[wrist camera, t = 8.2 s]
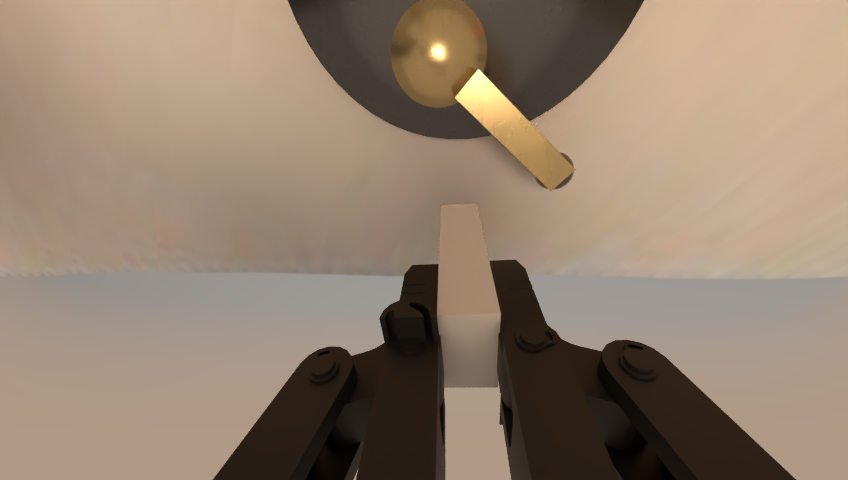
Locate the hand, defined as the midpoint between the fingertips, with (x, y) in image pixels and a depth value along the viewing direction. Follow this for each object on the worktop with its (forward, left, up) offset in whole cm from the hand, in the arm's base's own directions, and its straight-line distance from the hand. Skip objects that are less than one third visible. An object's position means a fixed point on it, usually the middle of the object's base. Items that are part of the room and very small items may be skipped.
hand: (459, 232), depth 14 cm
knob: (+2, +4, -11) cm, 12 cm away
